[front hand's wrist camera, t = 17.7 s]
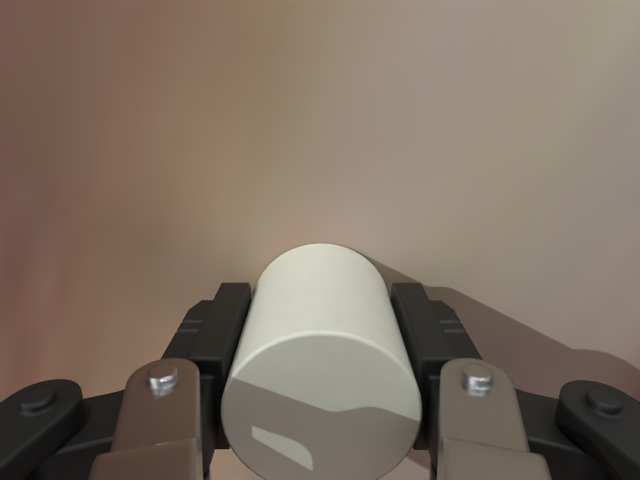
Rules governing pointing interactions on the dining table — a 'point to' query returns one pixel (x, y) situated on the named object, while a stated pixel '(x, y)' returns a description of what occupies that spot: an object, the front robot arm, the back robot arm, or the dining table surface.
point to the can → (321, 373)
